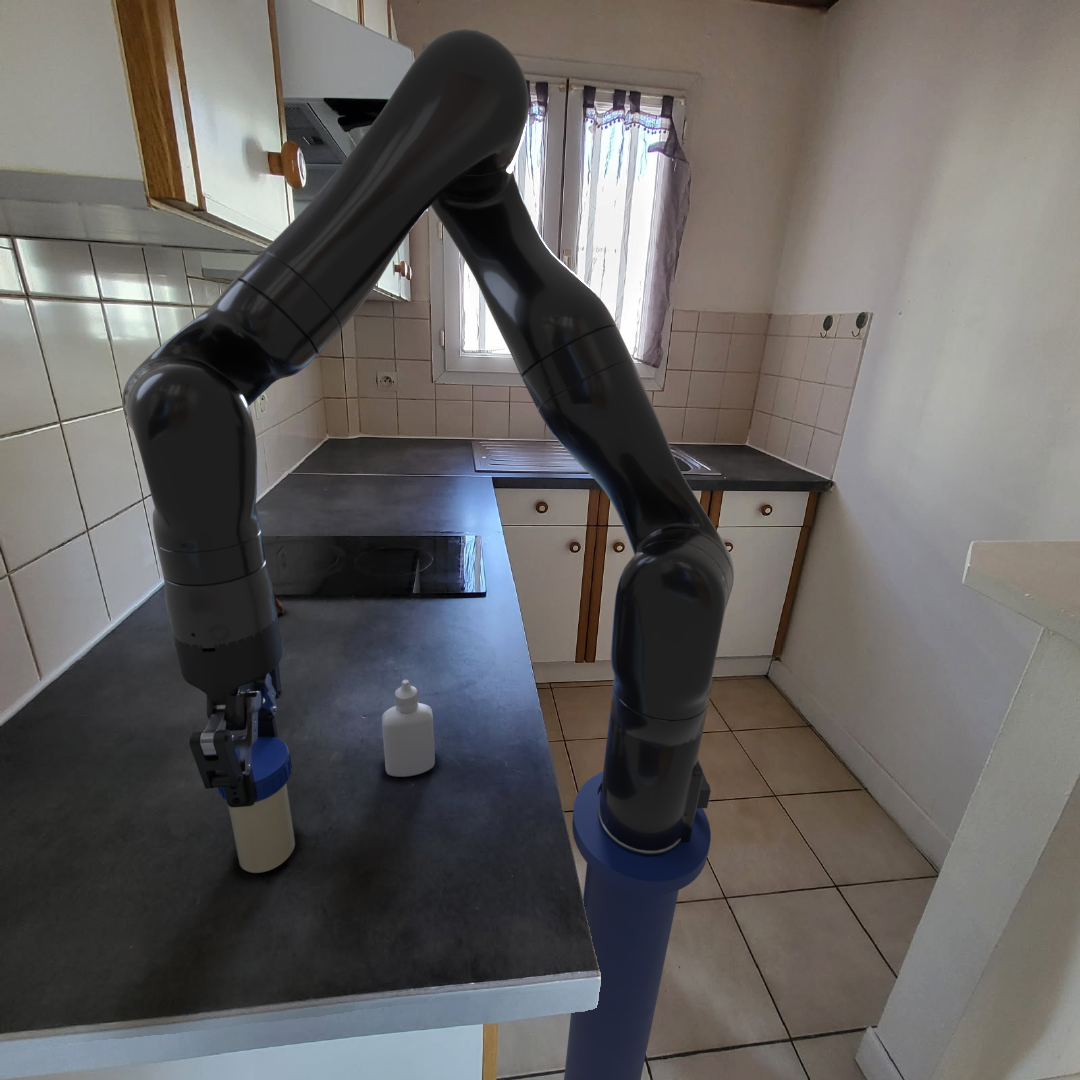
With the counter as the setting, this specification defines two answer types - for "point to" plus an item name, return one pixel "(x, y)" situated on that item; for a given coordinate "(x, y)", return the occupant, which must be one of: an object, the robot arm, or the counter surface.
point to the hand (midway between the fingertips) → (255, 774)
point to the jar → (263, 832)
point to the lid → (268, 766)
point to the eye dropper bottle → (408, 734)
